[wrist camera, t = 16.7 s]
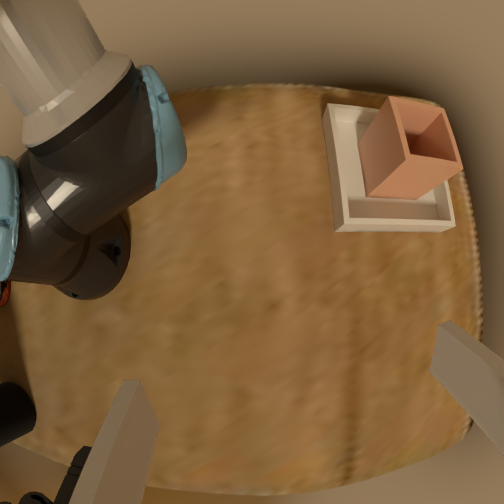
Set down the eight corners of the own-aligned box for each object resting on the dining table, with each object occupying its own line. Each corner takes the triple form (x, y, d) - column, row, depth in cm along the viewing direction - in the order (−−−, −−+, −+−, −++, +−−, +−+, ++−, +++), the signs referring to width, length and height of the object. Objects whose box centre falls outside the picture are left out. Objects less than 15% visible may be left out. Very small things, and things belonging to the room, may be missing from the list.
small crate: (365, 197, 40) (405, 159, 27) (357, 144, 41) (388, 95, 28) (415, 200, 40) (463, 168, 27) (405, 149, 41) (444, 108, 28)
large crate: (334, 231, 40) (344, 223, 35) (321, 119, 43) (327, 103, 38) (439, 232, 40) (455, 226, 35) (418, 131, 43) (430, 118, 38)
